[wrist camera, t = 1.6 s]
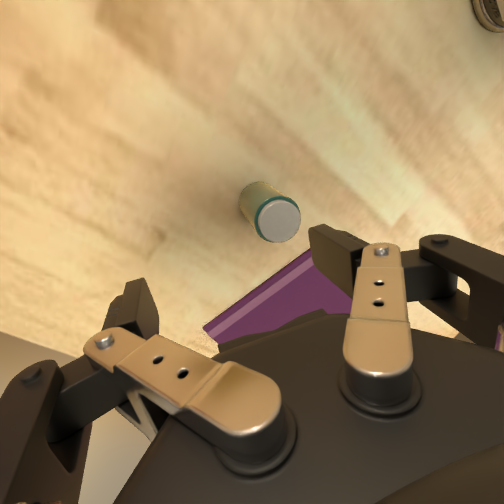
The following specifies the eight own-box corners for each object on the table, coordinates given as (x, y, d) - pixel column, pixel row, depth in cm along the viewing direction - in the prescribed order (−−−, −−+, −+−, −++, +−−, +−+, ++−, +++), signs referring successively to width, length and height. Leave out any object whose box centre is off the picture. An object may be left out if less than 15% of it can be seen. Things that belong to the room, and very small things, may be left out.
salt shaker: (263, 173, 33) (288, 187, 25) (284, 204, 35) (312, 226, 27) (231, 198, 33) (246, 218, 26) (253, 227, 35) (273, 255, 28)
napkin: (329, 233, 37) (331, 234, 37) (386, 328, 46) (388, 330, 46) (202, 327, 38) (202, 329, 38) (282, 402, 47) (283, 405, 47)
